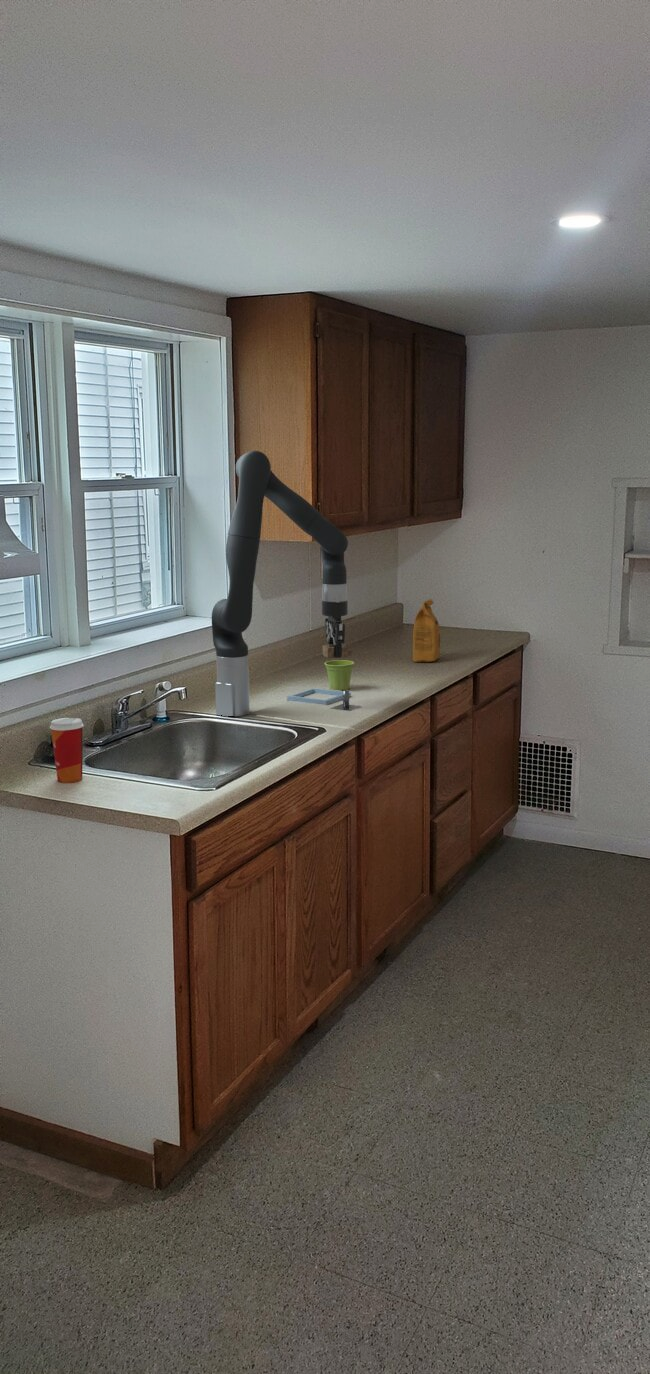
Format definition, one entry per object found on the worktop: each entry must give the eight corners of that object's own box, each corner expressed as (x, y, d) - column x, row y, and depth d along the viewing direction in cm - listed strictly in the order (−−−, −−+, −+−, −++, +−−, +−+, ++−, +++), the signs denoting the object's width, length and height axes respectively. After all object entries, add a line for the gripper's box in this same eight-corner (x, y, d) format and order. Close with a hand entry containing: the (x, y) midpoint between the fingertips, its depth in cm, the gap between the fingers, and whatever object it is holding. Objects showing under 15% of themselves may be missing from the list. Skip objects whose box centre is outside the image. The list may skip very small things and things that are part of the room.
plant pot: (348, 692, 348) (348, 665, 346) (320, 691, 351) (320, 664, 349) (358, 687, 356) (357, 660, 354) (330, 685, 359) (330, 659, 358)
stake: (350, 713, 319) (349, 693, 317) (329, 710, 322) (329, 691, 321) (362, 709, 324) (362, 689, 323) (342, 706, 328) (342, 687, 327)
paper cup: (63, 774, 260) (60, 716, 257) (92, 776, 258) (89, 717, 255) (46, 783, 253) (42, 723, 250) (76, 785, 250) (72, 725, 248)
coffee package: (444, 658, 407) (444, 598, 402) (435, 664, 395) (436, 603, 391) (418, 657, 410) (418, 598, 406) (409, 662, 399) (409, 602, 394)
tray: (326, 707, 327) (326, 700, 327) (287, 702, 335) (287, 696, 334) (350, 698, 339) (350, 692, 338) (312, 694, 346) (312, 688, 346)
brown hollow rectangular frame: (327, 658, 322) (327, 648, 321) (322, 654, 327) (322, 644, 327) (354, 656, 324) (354, 646, 323) (348, 653, 329) (348, 643, 329)
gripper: (316, 596, 328) (316, 652, 331) (328, 602, 314) (328, 660, 318) (340, 595, 330) (340, 651, 333) (353, 601, 316) (353, 659, 319)
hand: (335, 655), depth 325 cm, fingers closed on brown hollow rectangular frame, 6 cm apart
